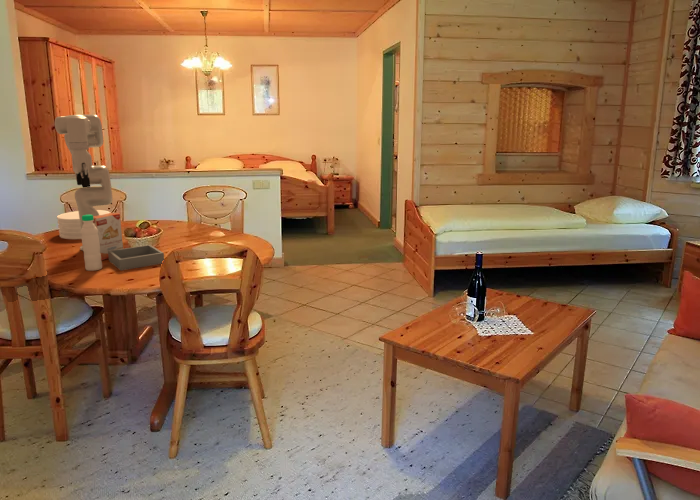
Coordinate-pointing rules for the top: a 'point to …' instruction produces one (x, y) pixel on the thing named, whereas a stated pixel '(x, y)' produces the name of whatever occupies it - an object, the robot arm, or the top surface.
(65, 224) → the plate stack
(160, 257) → the tray
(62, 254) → the top surface
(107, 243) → the cracker box
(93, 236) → the water bottle
